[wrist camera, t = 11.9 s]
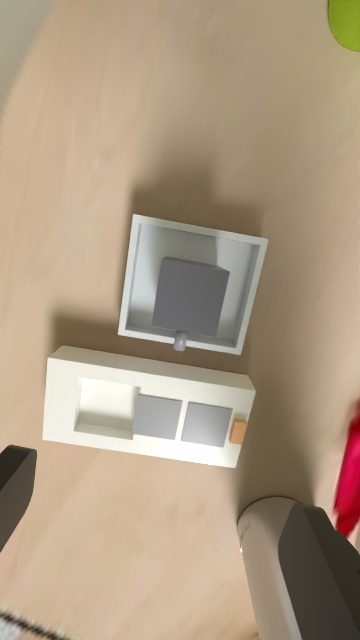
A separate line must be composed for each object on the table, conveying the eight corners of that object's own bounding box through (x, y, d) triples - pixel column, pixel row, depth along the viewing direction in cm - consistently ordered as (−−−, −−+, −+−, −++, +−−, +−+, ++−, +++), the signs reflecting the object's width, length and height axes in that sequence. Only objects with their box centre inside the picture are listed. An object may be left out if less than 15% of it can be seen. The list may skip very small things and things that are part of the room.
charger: (217, 265, 27) (230, 271, 20) (203, 334, 29) (210, 360, 22) (166, 256, 27) (161, 259, 20) (154, 325, 29) (147, 349, 22)
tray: (261, 240, 27) (269, 239, 25) (235, 346, 30) (240, 355, 27) (137, 217, 27) (133, 213, 24) (122, 327, 29) (117, 334, 27)
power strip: (247, 375, 31) (257, 394, 27) (229, 445, 33) (236, 472, 29) (62, 345, 30) (44, 359, 26) (56, 419, 32) (39, 443, 28)
